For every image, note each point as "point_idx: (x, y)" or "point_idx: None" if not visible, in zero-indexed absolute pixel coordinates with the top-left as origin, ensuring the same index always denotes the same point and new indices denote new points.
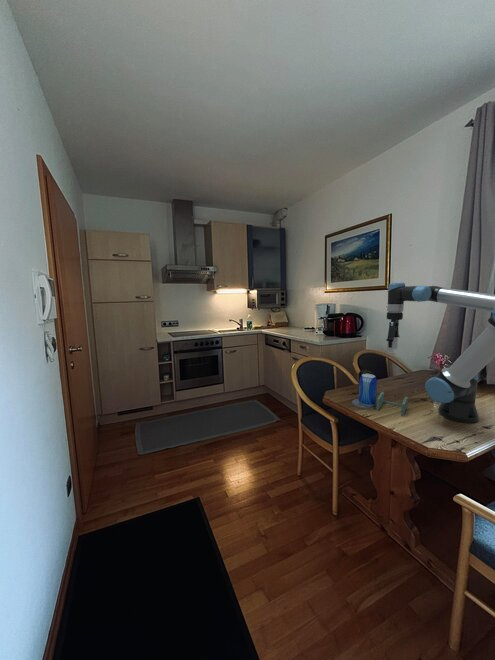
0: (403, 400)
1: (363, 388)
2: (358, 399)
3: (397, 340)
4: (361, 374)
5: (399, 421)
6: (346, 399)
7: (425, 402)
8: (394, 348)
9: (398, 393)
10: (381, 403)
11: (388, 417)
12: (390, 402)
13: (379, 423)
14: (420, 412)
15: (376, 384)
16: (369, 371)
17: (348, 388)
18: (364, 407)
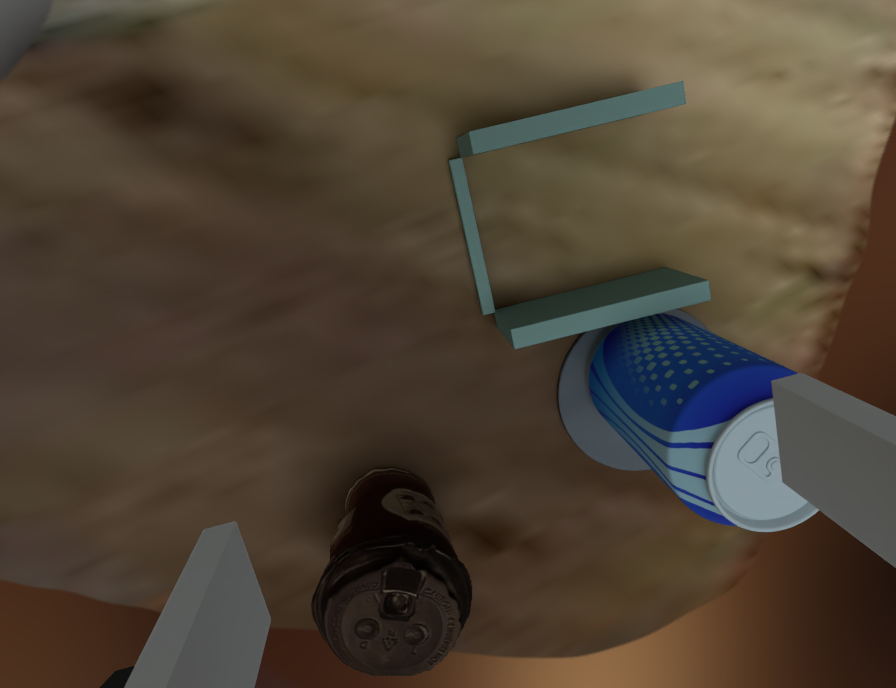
0: (592, 125)
1: None
2: (605, 451)
3: (172, 679)
4: (464, 620)
5: (748, 84)
6: (646, 511)
7: (204, 65)
8: (251, 571)
9: (183, 313)
10: (582, 292)
11: (736, 166)
12: (482, 262)
13: (868, 169)
14: (469, 25)
15: (731, 356)
16: (348, 610)
17: None
18: None
